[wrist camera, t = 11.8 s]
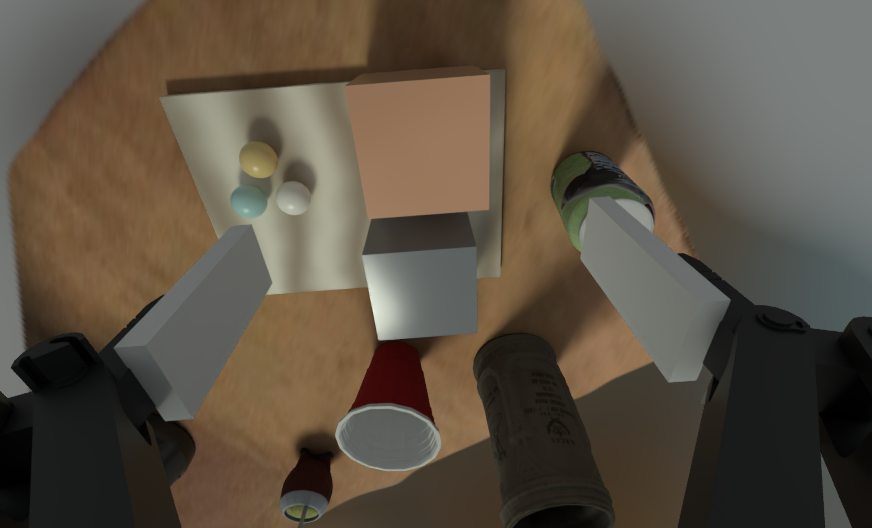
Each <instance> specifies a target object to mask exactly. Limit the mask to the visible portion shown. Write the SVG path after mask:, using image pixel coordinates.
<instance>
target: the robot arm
mask: <svg viewBox="0 0 872 528" xmlns="http://www.w3.org/2000/svg"><path fill="white" fill-rule="evenodd" d="M580 259H581V261H582V262H583V264H584V265H585V266H586V268H587V269H588V271H589V272H590V273H591V275H592V276H593V278H594V279H595V280H596V282H597V283H598V284H599V286H600V287H601V289H602V290H603V291H604V293H605V294H606V296H607V297H608V298H609V300H610V301H611V303H612V304H613V305H614V307H615V308H616V310H617V311H618V312H619V314H620V315H621V317H622V318H623V319H624V321H625V322H626V324H627V325H628V326H629V328H630V329H631V331H632V332H633V333H634V335H635V336H636V338H637V339H638V340H639V342H640V343H641V345H642V346H643V347H644V349H645V350H646V352H647V353H648V354H649V356H650V357H651V359H652V360H653V361H654V363H655V364H656V365H657V366H658V368H659V370H660V371H661V372H662V374H663V375H664V377H665V378H666V379H667V381H668V382H680V381H693V380H697V377H698V375H699V373H700V371H701V368H702V366H703V364H704V365H705V366H706V367H707V369H708V370H709V371H710V372H711V373H712V374H713V377H712V379H711V381H710V383H709V385H708V388H707V390H706V392H705V394H704V397H703V399H702V401H701V404H703V405H704V410H703V414H702V419H701V423H700V428H699V432H698V437H697V442H696V446H695V450H694V455H693V459H692V464H691V469H690V474H689V478H688V482H687V487H686V492H685V496H684V500H683V505H682V510H681V514H680V519H679V523H678V528H825V518H824V502H823V486H822V470H821V454H822V457H823V459H824V461H825V464H826V466H827V469H828V471H829V473H830V476H831V478H832V481H833V483H834V486H835V488H836V490H837V493H838V495H839V497H840V500H841V502H842V505H843V507H844V509H845V512H846V514H847V517H848V519H849V521H850V524H851V526H852V528H872V317H858V318H853V319H852V320H851V321H850V322H849V324H848V325H847V327H846V328H845V330H844V332H836V331H828V330H820V329H813V328H810V325H808V324H807V323H806V322H805V321H804V320H803V319H802V318H800V317H798V316H796V315H794V314H792V313H790V312H788V311H785V310H782V309H779V308H776V307H771V306H765V305H754V304H753V303H752V302H750V301H749V300H748V299H747V298H746V297H744V296H743V295H742V294H741V293H739V292H738V291H737V290H736V289H734V288H733V287H732V286H731V285H729V284H728V283H727V282H726V281H725V280H722V278H721V277H719V276H718V275H717V274H716V273H715V272H712V270H711V269H710V268H708V267H707V266H706V265H705V264H703V263H702V262H701V261H699V260H697V259H695V258H693V257H691V256H689V255H687V254H684V253H679V254H676V253H675V252H674V251H673V250H672V249H671V248H669V247H668V246H667V245H666V244H665V243H664V242H662V241H661V240H660V239H659V238H658V237H657V236H655V235H654V234H653V233H652V232H651V231H650V230H648V229H647V228H646V227H645V226H644V225H642V224H641V223H640V222H639V221H638V220H637V219H635V218H634V217H633V216H632V215H631V214H630V213H628V212H627V211H626V210H625V209H624V208H623V207H621V206H620V205H619V204H618V203H617V202H616V201H614V200H613V199H612V198H611V197H610V196H608V197H595V198H590V200H589V206H588V212H587V219H586V225H585V232H584V238H583V244H582V251H581V257H580ZM272 283H273V282H272V280H271V277H270V274H269V271H268V268H267V266H266V263H265V260H264V257H263V255H262V252H261V249H260V246H259V243H258V241H257V238H256V235H255V232H254V229H253V227H252V224H249V225H237V226H231V227H230V228H229V229H228V230H227V232H226V233H225V234H224V235H223V236H222V237H221V238H220V239H219V240H218V241H217V242H216V243H215V244H214V245H213V246H212V247H211V248H210V249H209V250H208V251H207V252H206V253H205V254H204V255H203V256H202V257H201V258H200V259H199V260H198V261H197V262H196V263H195V264H194V265H193V267H192V268H191V269H190V270H189V271H188V272H187V273H186V274H185V275H184V276H183V277H182V278H181V279H180V280H179V281H178V282H177V283H176V284H175V285H174V286H173V287H172V288H171V289H170V290H169V291H168V292H167V293H166V294H165V295H162V296H160V297H159V298H157V299H156V300H154V301H153V302H151V303H149V304H148V305H147V306H146V307H145V308H144V309H143V310H142V311H141V312H140V313H139V314H138V315H137V316H136V318H135V319H133V320H132V321H131V322H130V323H129V324H128V325H127V328H124V329H123V330H122V331H121V332H120V333H119V334H118V335H117V336H116V337H115V338H114V339H113V340H112V341H111V342H110V343H109V344H108V345H107V346H106V347H105V348H104V349H103V350H102V351H101V352H100V353H98V354H97V352H96V351H95V350H94V348H93V347H92V346H91V344H90V343H89V342H88V340H87V339H86V337H85V336H84V335H83V334H81V333H67V334H62V335H59V336H56V337H52V338H49V339H47V340H45V341H43V342H41V343H38V344H36V345H35V346H33V347H31V348H30V349H28V350H27V351H25V352H23V353H22V354H21V355H20V356H19V357H18V358H17V359H16V360H15V361H14V363H13V364H12V366H11V369H12V370H13V371H14V372H15V373H16V374H17V375H18V376H19V377H20V378H21V379H22V380H23V382H24V383H25V384H26V385H27V386H28V387H29V388H30V389H31V390H32V392H28V393H25V394H21V395H18V396H14V397H11V398H7V397H6V396H5V395H4V394H3V393H2V392H1V391H0V528H181V524H180V521H179V517H178V514H177V510H176V507H175V503H174V500H173V497H172V493H171V490H170V486H171V485H172V484H173V483H174V482H175V481H176V480H178V479H179V478H180V477H181V476H182V475H183V474H184V473H185V471H186V470H187V468H188V466H189V464H190V462H191V460H192V459H193V457H194V454H195V447H194V444H193V441H192V440H191V438H190V437H189V436H188V434H187V433H186V432H185V431H183V430H182V429H181V428H180V427H178V426H177V425H175V424H174V423H172V422H170V421H174V420H187V419H193V418H194V416H195V414H196V413H197V411H198V409H199V408H200V406H201V404H202V403H203V401H204V399H205V397H206V396H207V394H208V392H209V391H210V389H211V387H212V385H213V384H214V382H215V380H216V379H217V377H218V375H219V374H220V372H221V370H222V368H223V367H224V365H225V363H226V362H227V360H228V358H229V356H230V355H231V353H232V351H233V350H234V348H235V346H236V345H237V343H238V341H239V339H240V338H241V336H242V334H243V333H244V331H245V329H246V327H247V326H248V324H249V322H250V321H251V319H252V317H253V316H254V314H255V312H256V310H257V309H258V307H259V305H260V304H261V302H262V300H263V299H264V297H265V295H266V293H267V292H268V290H269V288H270V287H271V285H272ZM154 408H156V409H157V410H158V412H159V413H160V415H161V416H162V417H159V416H156V415H154V414H151V412H152V411H153V409H154ZM820 452H821V454H820Z"/></svg>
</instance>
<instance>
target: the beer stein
mask: <svg viewBox="0 0 872 528" xmlns="http://www.w3.org/2000/svg"><path fill="white" fill-rule="evenodd" d="M473 371H474V375H475V378H476V381H477V389H478V393H479V395H480V397H481V400H482V402H483V406H484V410H485V414H486V419H487V424H488V428H489V433H490V438H491V443H492V448H493V453H494V459H495V464H496V470H497V475H498V481H499V487H500V493H501V500H502V504H501V507H500V516H501V520H502V523H503V525H504V528H613V526H614V524H615V514H614V510H613V507H612V499H611V497H610V494H609V491H608V490H607V488H606V487H605V485H604V483H603V481H602V479H601V476H600V473H599V470H598V468H597V465H596V463H595V460H594V458H593V455H592V452H591V444H590V441H589V438H588V435H587V432H586V429H585V427H584V424H583V422H582V420H581V418H580V415H579V413H578V411H577V408H576V405H575V403H574V400H573V398H572V396H571V393H570V390H569V387H568V385H567V383H566V380H565V378H564V376H563V374H562V373H561V371H560V368H559V366H558V365H557V363H556V356H555V353H554V351H553V349H552V347H551V346H550V345H549V344H548V343H547V342H546V341H544V340H543V339H541V338H539V337H537V336H534V335H529V334H513V335H507V336H503V337H499V338H497V339H494V340H492V341H491V342H489V343H488V344H487V345H485V346H484V347H483V348H482V349H481V350H480V351H479V352H478V354H477V356H476V358H475V360H474V365H473Z"/></svg>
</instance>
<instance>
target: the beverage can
mask: <svg viewBox="0 0 872 528" xmlns="http://www.w3.org/2000/svg"><path fill="white" fill-rule="evenodd" d="M551 194H552V197H553V199H554V202H555V204H556V207H557V209H558V211H559V214H560V216H561V219H562V221H563V224H564V226H565V228H566V231H567V233H568V236H569V238H570V240H571V242H572V244H573V245H574V247H575V248H576V249H577V250H579V251H580V252H581V251H582V244H583V238H584V232H585V225H586V219H587V212H588V206H589V200H590V198H595V197H608V196H610V197H611V198H612V199H613V200H614V201H616V202H617V203H618V204H619V205H620V206H621V207H623V208H624V209H625V210H626V211H627V212H628V213H630V214H631V215H632V216H633V217H634V218H635V219H637V220H638V221H639V222H640V223H641V224H642V225H644V226H645V227H646V228H647V229H648V230H650V231H651V232H652V233H653V228H654V224H655V209H654V206H653V203H652V201H651V200H650V198H649V197H648V196H647V194H646V193H645V192H644V191H643V190H642V189H641V188H639V187H638V186H637V185H636V184H635V183H634V182H633V181H632V180H631V179H630V178H629V177H628V176H627V175H626V174H625V173H624V172H623V171H622V170H621V169H620V168H619V167H618V166H617V165H616V164H615V163H614V162H613V161H611V160H610V159H609V158H608V157H607V156H605V155H604V154H601V153H599V152H594V151H584V152H579V153H576V154H574V155H571V156H569V157H568V158H566V159H565V160H564V161H563V162H562V163H561V164H560V165H559V166H558V167H557V168H556V170H555V172H554V174H553V176H552V179H551Z"/></svg>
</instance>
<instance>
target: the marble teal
mask: <svg viewBox="0 0 872 528" xmlns="http://www.w3.org/2000/svg"><path fill="white" fill-rule="evenodd" d="M230 203H231V207H232V209H233V210H234V211H235V212H236V213H237V214H238V215H239V216H241V217H244V218H249V219H252V218H257V217H259V216H261V215H262V214H263V213H264V212H265V210H266V208H267V205H268V201H267V197H266V195H265V193H264V192H263V191H262V190H261V189H260V188H258V187H256V186H254V185H242V186H239V187H237V188H236V189H235V190H234V191H233V192H232V194H231V197H230Z"/></svg>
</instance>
